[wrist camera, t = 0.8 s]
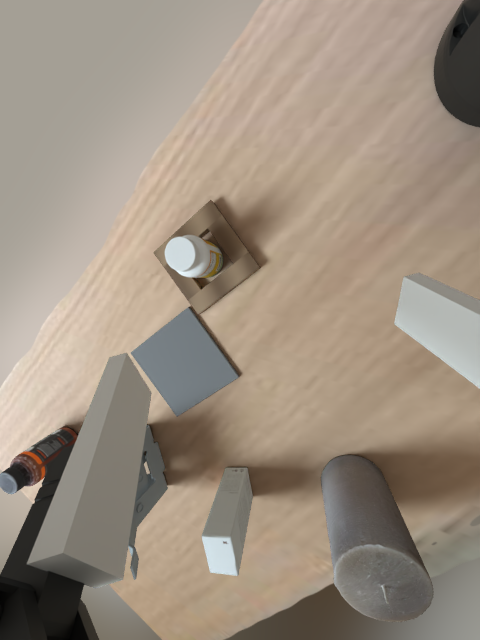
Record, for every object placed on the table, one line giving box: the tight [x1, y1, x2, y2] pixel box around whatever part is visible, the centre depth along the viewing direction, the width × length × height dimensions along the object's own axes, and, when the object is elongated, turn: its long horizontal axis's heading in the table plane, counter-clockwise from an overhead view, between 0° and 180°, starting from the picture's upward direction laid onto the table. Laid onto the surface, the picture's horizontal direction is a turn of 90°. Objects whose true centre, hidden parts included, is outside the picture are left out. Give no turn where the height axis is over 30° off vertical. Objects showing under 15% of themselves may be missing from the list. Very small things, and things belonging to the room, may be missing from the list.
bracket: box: [128, 425, 168, 580], centre depth 39 cm, size 13×10×15 cm
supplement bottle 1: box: [0, 427, 78, 494], centre depth 44 cm, size 6×6×11 cm
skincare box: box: [202, 468, 253, 576], centre depth 37 cm, size 6×4×12 cm
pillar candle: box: [321, 455, 433, 622], centre depth 31 cm, size 10×10×15 cm
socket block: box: [154, 200, 260, 314], centre depth 37 cm, size 12×12×1 cm
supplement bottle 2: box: [165, 235, 223, 278], centre depth 33 cm, size 5×5×10 cm
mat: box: [131, 307, 239, 416], centre depth 41 cm, size 14×14×1 cm
